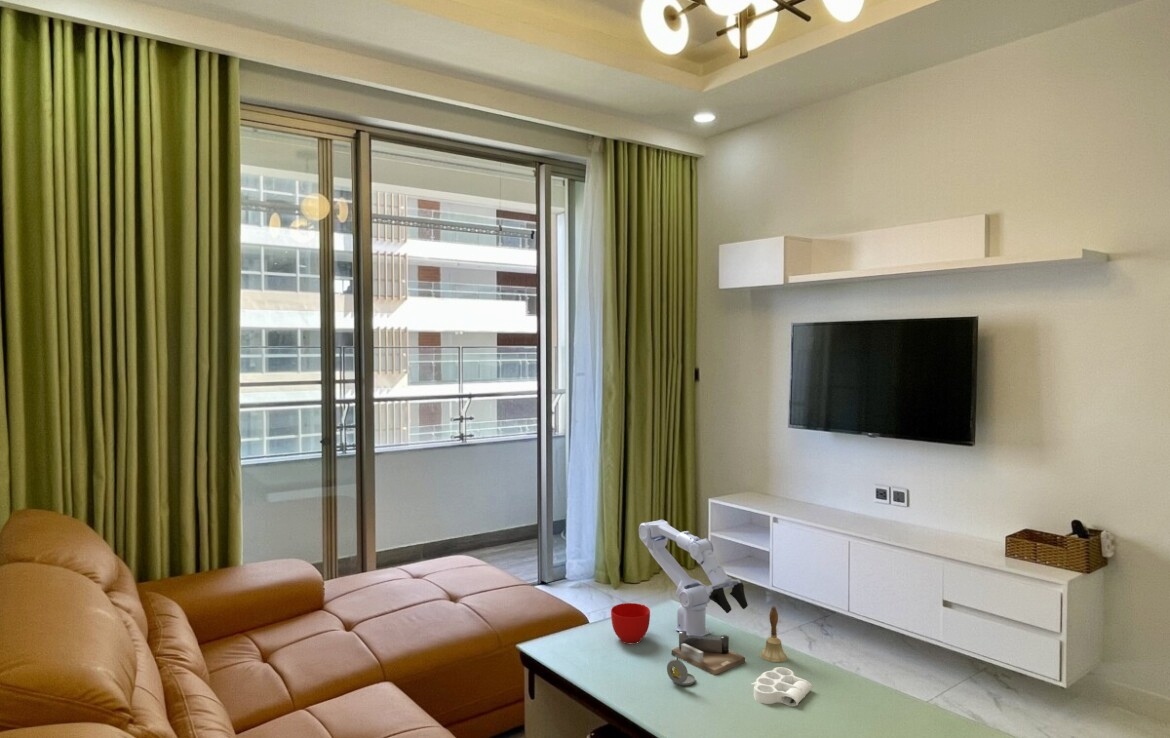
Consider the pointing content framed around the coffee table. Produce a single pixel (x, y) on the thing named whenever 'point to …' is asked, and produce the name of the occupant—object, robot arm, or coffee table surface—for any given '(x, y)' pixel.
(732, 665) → the press base
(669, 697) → the coffee table surface
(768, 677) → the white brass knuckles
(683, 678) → the pocket watch
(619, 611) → the ceramic cup
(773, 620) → the hand bell
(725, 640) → the lever
